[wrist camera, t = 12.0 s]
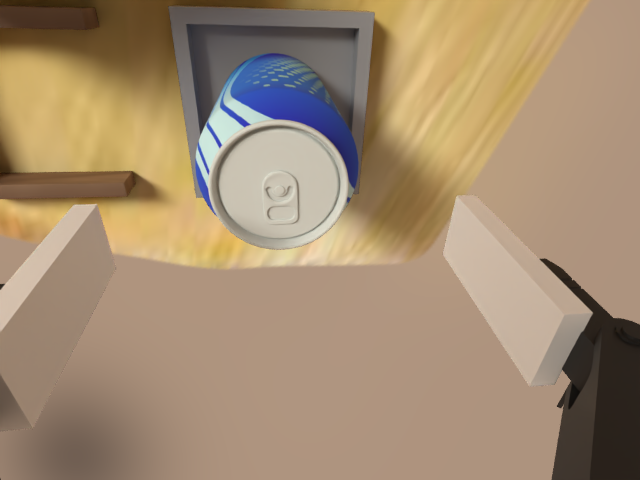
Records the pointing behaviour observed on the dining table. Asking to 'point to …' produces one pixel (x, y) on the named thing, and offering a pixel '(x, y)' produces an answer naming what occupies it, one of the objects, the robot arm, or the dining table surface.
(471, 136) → the dining table surface
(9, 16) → the frame
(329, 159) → the beer can
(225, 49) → the tray
